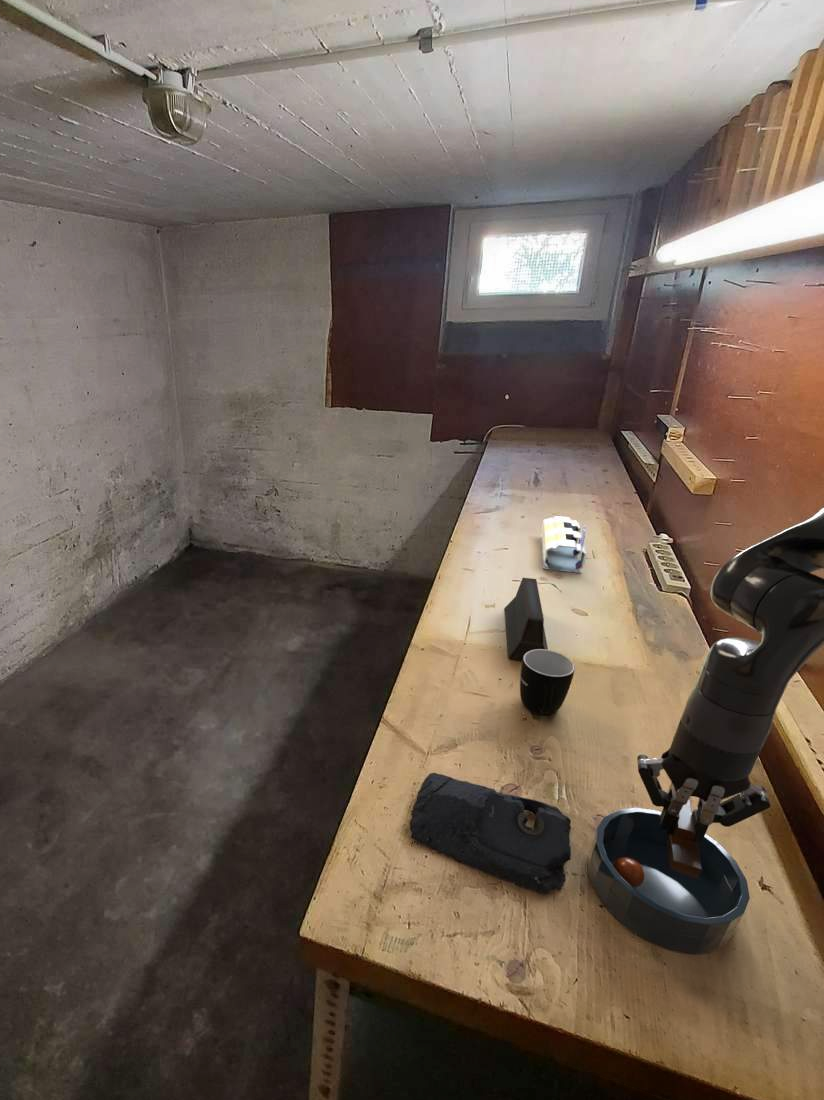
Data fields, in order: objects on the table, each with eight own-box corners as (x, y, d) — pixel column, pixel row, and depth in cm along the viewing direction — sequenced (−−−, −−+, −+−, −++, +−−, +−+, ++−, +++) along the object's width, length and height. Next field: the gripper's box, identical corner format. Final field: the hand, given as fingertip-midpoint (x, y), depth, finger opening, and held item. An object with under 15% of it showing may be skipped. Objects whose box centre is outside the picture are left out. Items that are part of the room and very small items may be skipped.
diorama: (582, 573, 160) (591, 530, 154) (542, 568, 163) (550, 526, 157) (575, 540, 180) (583, 502, 175) (540, 537, 184) (547, 499, 178)
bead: (635, 871, 77) (641, 853, 75) (644, 895, 74) (651, 877, 72) (606, 866, 78) (612, 849, 76) (614, 891, 74) (621, 873, 73)
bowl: (698, 846, 81) (711, 817, 78) (760, 967, 66) (778, 936, 64) (574, 829, 84) (582, 800, 81) (608, 940, 70) (619, 910, 67)
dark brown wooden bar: (660, 796, 76) (667, 780, 75) (685, 803, 75) (692, 787, 73) (669, 869, 66) (676, 852, 65) (698, 878, 65) (705, 861, 64)
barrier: (550, 665, 121) (559, 625, 117) (507, 659, 124) (514, 620, 119) (541, 612, 141) (548, 576, 137) (504, 607, 144) (509, 572, 139)
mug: (514, 687, 115) (522, 645, 110) (562, 695, 112) (572, 652, 108) (516, 725, 105) (524, 681, 100) (568, 735, 102) (580, 690, 97)
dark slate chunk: (427, 771, 95) (430, 749, 93) (570, 817, 86) (576, 795, 84) (401, 841, 83) (403, 818, 81) (564, 904, 74) (571, 880, 72)
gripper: (790, 724, 63) (739, 830, 71) (648, 691, 69) (615, 793, 76) (810, 769, 57) (752, 880, 65) (653, 730, 63) (616, 836, 70)
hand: (678, 833), depth 70 cm, fingers closed on dark brown wooden bar, 2 cm apart
